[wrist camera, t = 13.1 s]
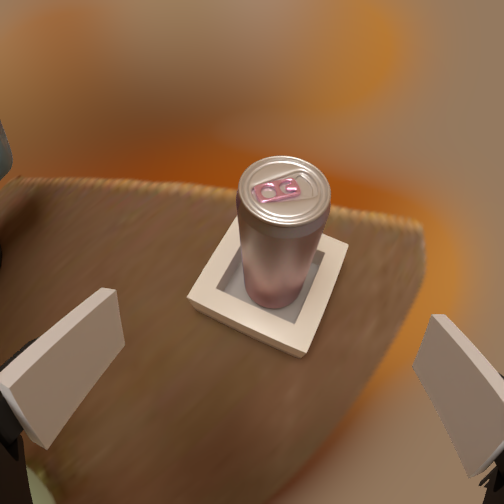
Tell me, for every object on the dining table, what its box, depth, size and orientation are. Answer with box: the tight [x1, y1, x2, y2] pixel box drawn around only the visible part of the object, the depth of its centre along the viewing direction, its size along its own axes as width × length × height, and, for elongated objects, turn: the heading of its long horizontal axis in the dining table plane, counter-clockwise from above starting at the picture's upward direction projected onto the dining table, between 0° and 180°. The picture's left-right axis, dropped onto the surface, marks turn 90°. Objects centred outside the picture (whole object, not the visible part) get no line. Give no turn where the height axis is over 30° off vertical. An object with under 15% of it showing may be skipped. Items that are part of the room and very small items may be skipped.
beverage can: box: [236, 156, 331, 308], centre depth 23 cm, size 6×6×15 cm
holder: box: [187, 215, 348, 359], centre depth 29 cm, size 12×12×4 cm
